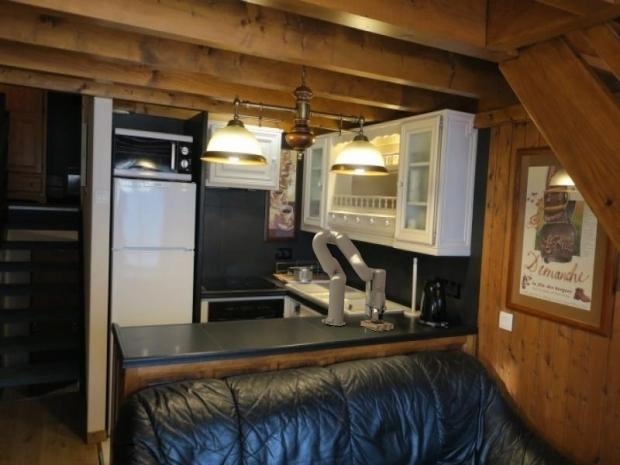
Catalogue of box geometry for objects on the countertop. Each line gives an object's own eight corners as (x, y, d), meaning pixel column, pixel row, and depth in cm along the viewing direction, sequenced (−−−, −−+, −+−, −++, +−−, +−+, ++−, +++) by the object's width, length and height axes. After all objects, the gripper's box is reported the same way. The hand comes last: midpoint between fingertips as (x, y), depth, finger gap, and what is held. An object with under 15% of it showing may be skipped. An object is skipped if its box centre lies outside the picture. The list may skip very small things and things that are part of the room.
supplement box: (364, 314, 336) (365, 296, 335) (374, 314, 338) (375, 296, 337) (368, 317, 329) (369, 298, 328) (378, 317, 331) (379, 298, 330)
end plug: (376, 326, 296) (377, 306, 296) (368, 323, 301) (369, 304, 301) (383, 325, 300) (384, 306, 299) (376, 322, 305) (377, 304, 305)
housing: (376, 332, 291) (376, 326, 291) (360, 326, 302) (360, 321, 302) (393, 329, 299) (393, 323, 299) (377, 324, 310) (377, 318, 310)
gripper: (364, 287, 304) (362, 316, 305) (384, 292, 290) (382, 322, 291) (373, 286, 309) (371, 314, 310) (393, 291, 295) (390, 321, 296)
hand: (376, 318), depth 301 cm, fingers closed on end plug, 6 cm apart
